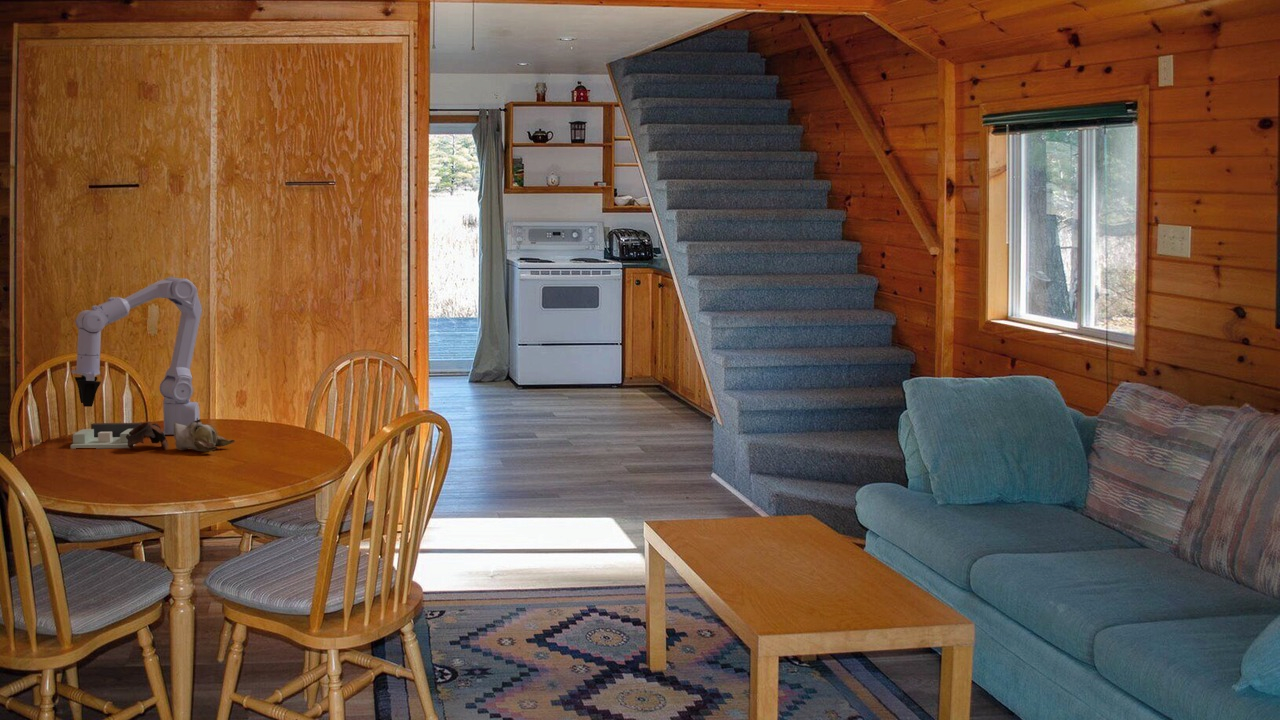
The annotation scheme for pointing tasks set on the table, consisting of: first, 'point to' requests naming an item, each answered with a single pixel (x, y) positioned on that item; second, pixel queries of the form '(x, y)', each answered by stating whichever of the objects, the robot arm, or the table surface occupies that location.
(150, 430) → the dark brown legged piece
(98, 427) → the dark gray rectangular block
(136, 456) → the table surface
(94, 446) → the stand
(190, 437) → the ceramic sculpture
